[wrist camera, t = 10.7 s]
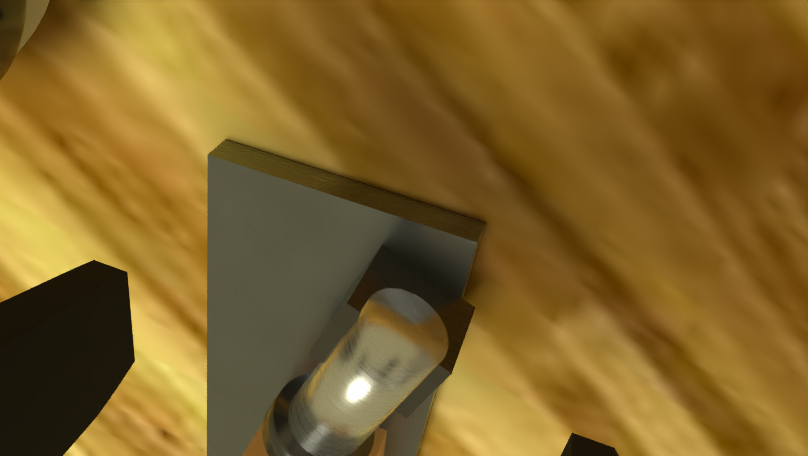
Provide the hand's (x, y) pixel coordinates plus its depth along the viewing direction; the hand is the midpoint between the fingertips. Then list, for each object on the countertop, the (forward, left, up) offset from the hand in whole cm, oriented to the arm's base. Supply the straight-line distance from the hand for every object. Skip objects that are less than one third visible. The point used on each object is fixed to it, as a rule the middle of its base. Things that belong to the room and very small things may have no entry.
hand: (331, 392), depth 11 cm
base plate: (+3, +14, -9) cm, 17 cm away
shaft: (+1, +7, -9) cm, 12 cm away
